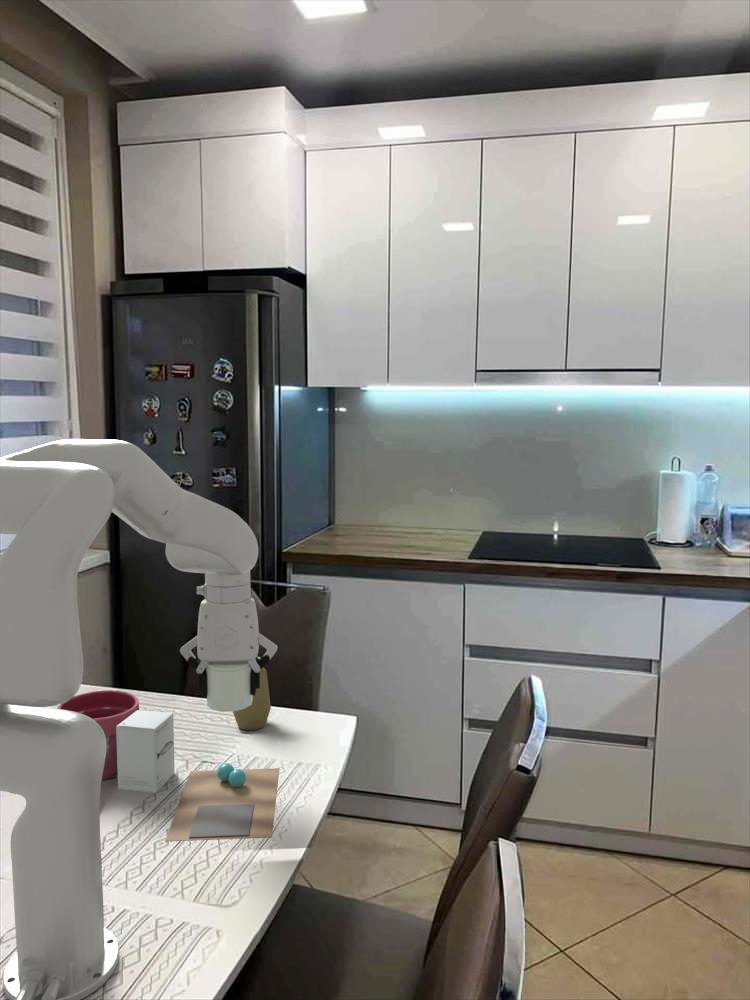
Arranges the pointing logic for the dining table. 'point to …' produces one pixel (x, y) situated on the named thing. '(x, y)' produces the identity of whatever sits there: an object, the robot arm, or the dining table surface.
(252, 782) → the tan flat board
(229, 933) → the dining table surface
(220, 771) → the marble
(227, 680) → the sage cup
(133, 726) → the supplement box
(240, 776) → the marble
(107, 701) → the plant pot
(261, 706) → the squeeze bottle
